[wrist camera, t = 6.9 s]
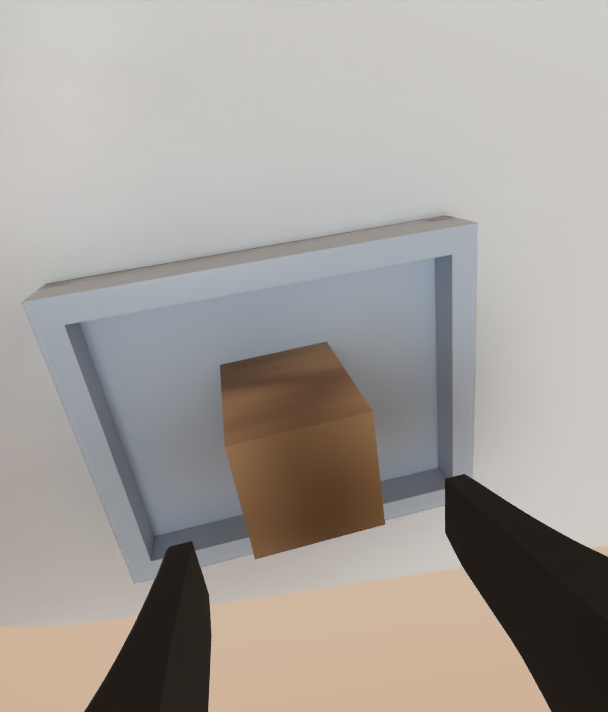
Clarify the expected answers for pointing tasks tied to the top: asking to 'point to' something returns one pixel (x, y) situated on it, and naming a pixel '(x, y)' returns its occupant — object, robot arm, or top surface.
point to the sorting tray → (252, 339)
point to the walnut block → (300, 448)
